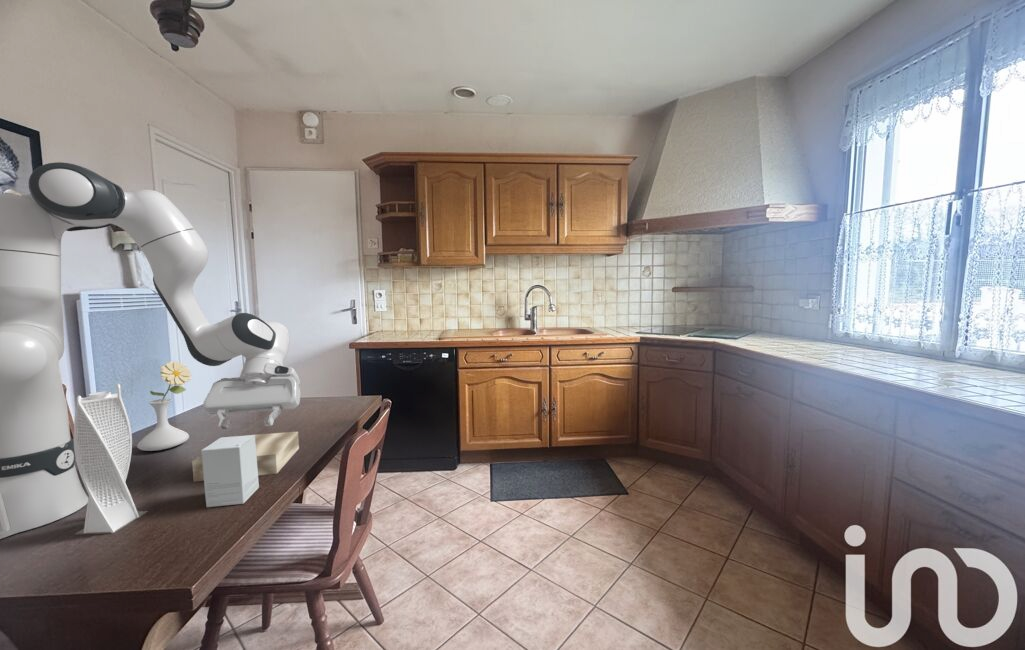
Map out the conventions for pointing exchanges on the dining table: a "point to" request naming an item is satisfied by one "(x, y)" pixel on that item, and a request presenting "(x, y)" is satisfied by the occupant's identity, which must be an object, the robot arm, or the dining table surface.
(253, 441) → the supplement box
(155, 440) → the flower in vase
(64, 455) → the robot arm
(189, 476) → the dining table surface
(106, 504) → the skyscraper
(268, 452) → the birch stand
